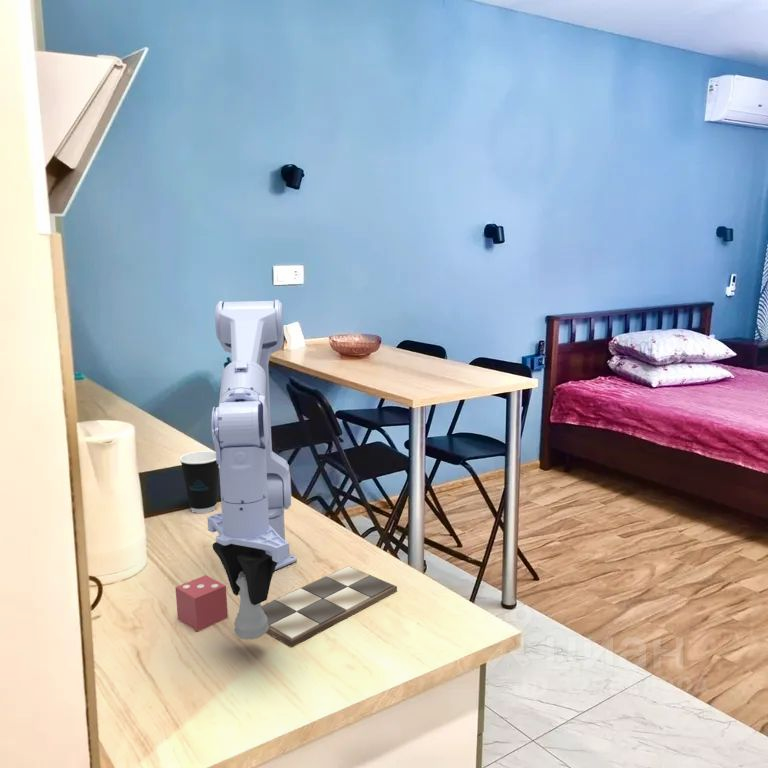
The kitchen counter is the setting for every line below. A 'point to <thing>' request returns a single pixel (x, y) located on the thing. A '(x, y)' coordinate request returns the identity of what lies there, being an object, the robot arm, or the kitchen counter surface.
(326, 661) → the kitchen counter surface
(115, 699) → the kitchen counter surface
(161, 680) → the kitchen counter surface
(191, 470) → the dixie cup
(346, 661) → the kitchen counter surface
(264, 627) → the rook chess piece
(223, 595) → the die
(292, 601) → the game board
